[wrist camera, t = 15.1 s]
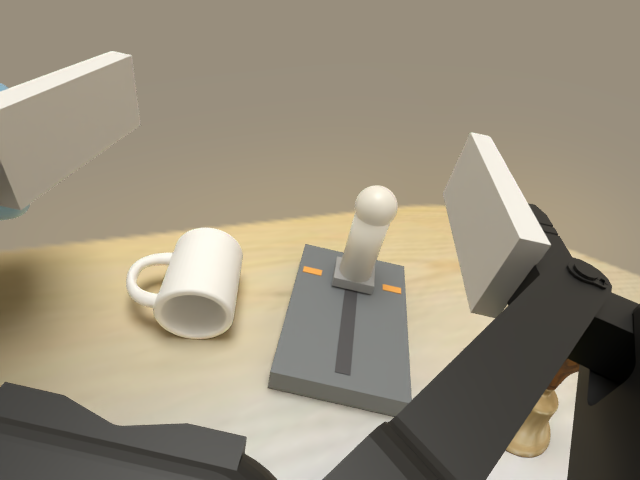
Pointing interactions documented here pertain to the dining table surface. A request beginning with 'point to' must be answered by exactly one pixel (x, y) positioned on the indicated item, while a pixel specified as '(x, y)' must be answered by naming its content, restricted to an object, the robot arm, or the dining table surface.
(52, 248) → the dining table surface
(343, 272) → the lever
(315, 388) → the console
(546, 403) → the hand bell
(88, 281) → the dining table surface
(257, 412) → the dining table surface
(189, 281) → the mug
